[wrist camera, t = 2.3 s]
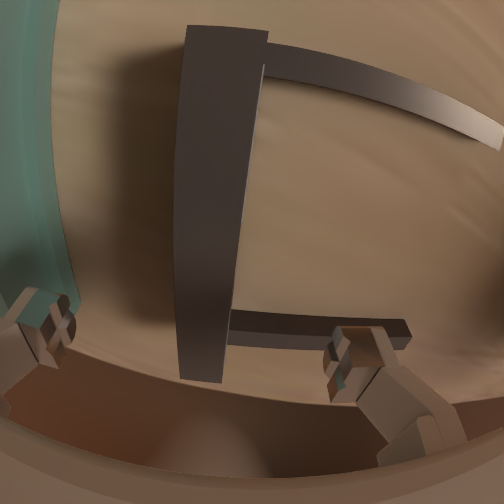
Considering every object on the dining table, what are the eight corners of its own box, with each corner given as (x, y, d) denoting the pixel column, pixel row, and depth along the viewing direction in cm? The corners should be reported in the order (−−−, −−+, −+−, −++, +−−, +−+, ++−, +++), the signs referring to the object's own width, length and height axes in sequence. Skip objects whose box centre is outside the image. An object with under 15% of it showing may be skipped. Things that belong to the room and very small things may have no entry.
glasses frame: (207, 41, 9) (185, 24, 6) (486, 120, 10) (542, 145, 7) (190, 320, 17) (178, 378, 13) (396, 332, 18) (416, 381, 14)
